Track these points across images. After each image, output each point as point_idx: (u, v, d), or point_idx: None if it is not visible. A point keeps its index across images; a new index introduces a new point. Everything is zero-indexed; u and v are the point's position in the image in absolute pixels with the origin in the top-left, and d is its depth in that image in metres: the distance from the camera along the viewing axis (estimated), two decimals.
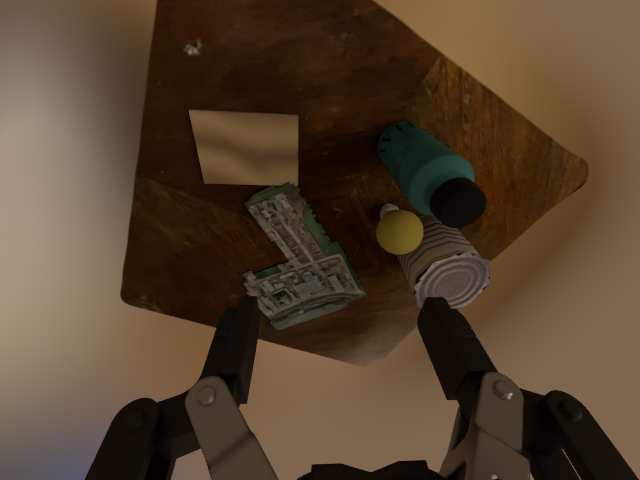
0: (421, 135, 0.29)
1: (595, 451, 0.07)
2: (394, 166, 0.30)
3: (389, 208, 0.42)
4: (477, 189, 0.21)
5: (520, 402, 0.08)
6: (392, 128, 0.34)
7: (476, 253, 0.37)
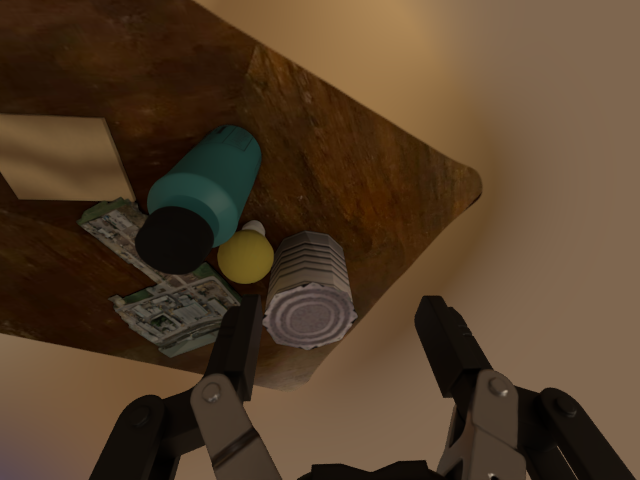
0: (206, 144, 0.23)
1: (589, 448, 0.07)
2: None
3: (247, 226, 0.36)
4: (170, 225, 0.15)
5: (515, 399, 0.08)
6: None
7: (330, 283, 0.31)
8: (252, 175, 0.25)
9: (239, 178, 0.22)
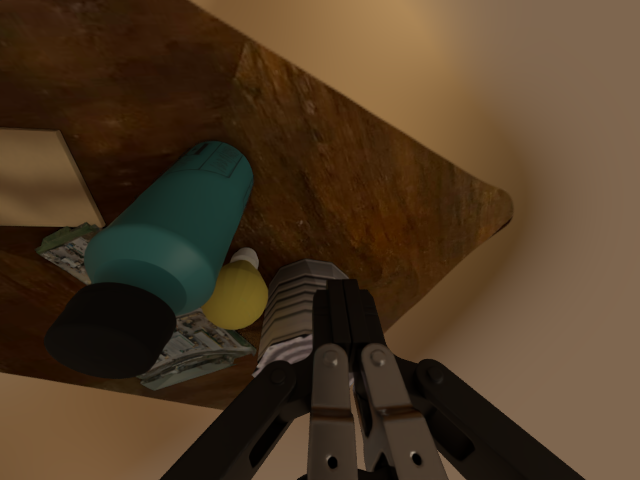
0: (177, 171, 0.17)
1: (463, 403, 0.08)
2: None
3: (237, 256, 0.30)
4: (97, 323, 0.09)
5: (390, 368, 0.09)
6: (187, 152, 0.22)
7: None
8: (239, 207, 0.20)
9: (219, 219, 0.16)
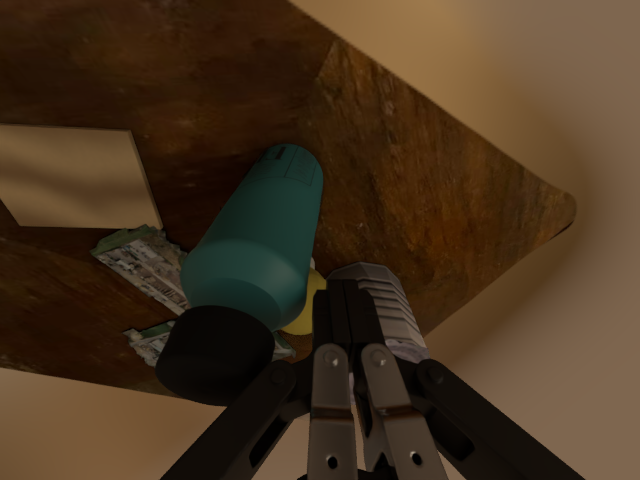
0: (263, 178, 0.16)
1: (463, 403, 0.08)
2: None
3: None
4: (214, 356, 0.09)
5: (390, 368, 0.09)
6: None
7: (407, 337, 0.25)
8: (317, 217, 0.19)
9: (307, 233, 0.15)
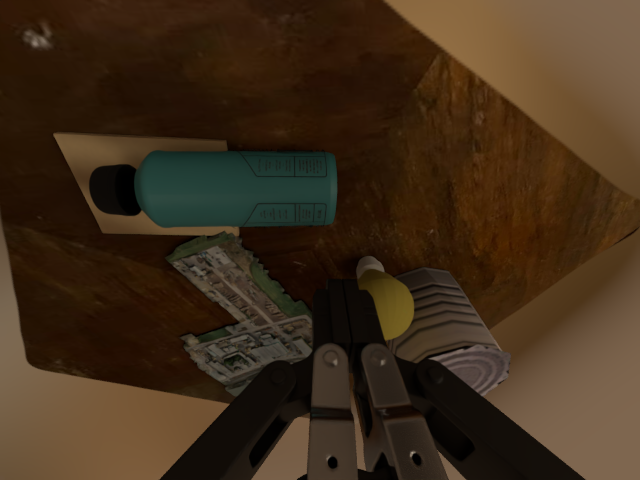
0: (240, 151, 0.21)
1: (463, 403, 0.08)
2: None
3: (368, 266, 0.30)
4: (93, 171, 0.20)
5: (390, 368, 0.09)
6: None
7: (491, 342, 0.25)
8: (250, 206, 0.20)
9: (196, 189, 0.19)
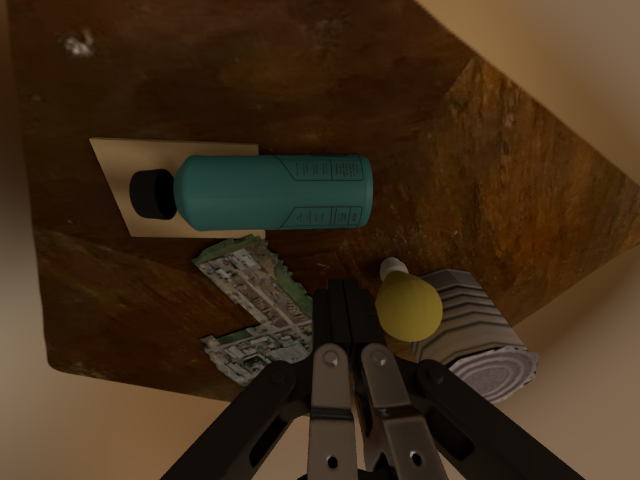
0: (275, 155, 0.21)
1: (463, 403, 0.08)
2: None
3: (392, 267, 0.30)
4: (132, 176, 0.20)
5: (390, 368, 0.09)
6: None
7: (520, 343, 0.26)
8: (287, 209, 0.20)
9: (235, 193, 0.19)
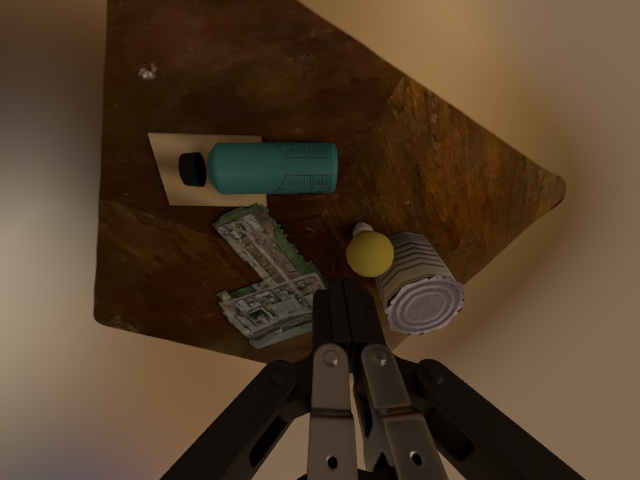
0: (273, 142, 0.32)
1: (463, 403, 0.08)
2: None
3: (361, 228, 0.41)
4: (180, 156, 0.31)
5: (390, 368, 0.09)
6: None
7: (448, 276, 0.36)
8: (281, 177, 0.31)
9: (247, 165, 0.30)
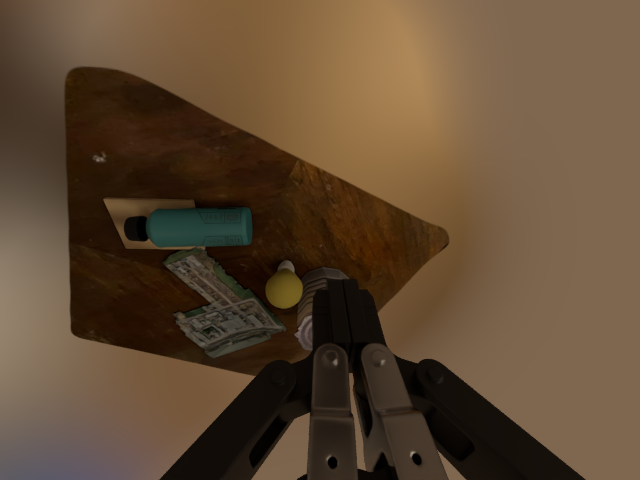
0: (199, 209, 0.41)
1: (463, 403, 0.08)
2: None
3: (282, 266, 0.50)
4: (125, 220, 0.40)
5: (390, 368, 0.09)
6: None
7: None
8: (202, 237, 0.40)
9: (175, 229, 0.40)
